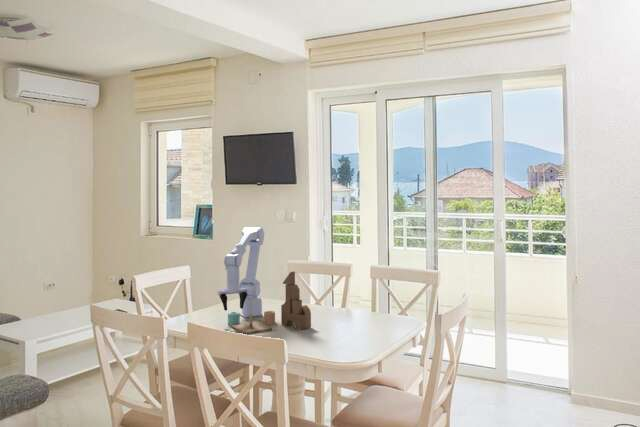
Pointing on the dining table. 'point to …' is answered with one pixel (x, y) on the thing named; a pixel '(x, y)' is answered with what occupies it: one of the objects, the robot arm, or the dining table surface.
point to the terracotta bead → (269, 317)
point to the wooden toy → (294, 306)
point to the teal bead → (233, 317)
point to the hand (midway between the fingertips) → (233, 309)
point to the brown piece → (251, 327)
